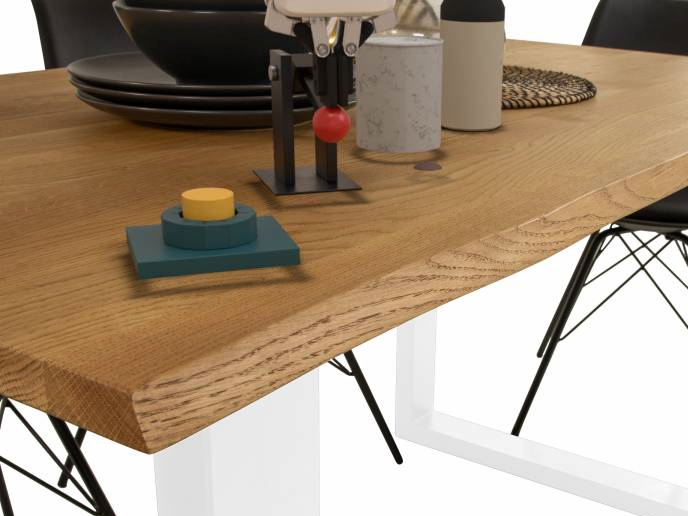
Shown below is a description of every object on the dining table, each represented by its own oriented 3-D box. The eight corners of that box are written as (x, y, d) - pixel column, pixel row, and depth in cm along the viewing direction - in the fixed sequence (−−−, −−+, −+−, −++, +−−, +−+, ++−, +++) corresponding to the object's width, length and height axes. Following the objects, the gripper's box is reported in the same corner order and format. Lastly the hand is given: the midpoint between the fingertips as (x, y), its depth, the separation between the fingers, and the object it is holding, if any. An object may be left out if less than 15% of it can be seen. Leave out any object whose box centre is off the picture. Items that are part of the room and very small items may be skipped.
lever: (353, 148, 84) (356, 114, 82) (316, 150, 83) (318, 115, 81) (315, 81, 94) (317, 48, 92) (281, 82, 93) (282, 49, 91)
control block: (139, 293, 67) (134, 236, 66) (127, 254, 75) (123, 203, 74) (300, 277, 71) (299, 222, 70) (273, 242, 79) (271, 192, 78)
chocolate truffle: (438, 173, 103) (438, 158, 103) (445, 180, 100) (446, 164, 100) (409, 174, 102) (409, 159, 102) (416, 181, 100) (417, 165, 99)
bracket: (362, 200, 92) (361, 57, 88) (275, 206, 89) (270, 59, 85) (333, 176, 101) (330, 45, 96) (253, 181, 98) (247, 46, 94)
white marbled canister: (449, 161, 109) (451, 44, 104) (361, 162, 107) (360, 44, 103) (432, 143, 117) (434, 35, 113) (350, 144, 116) (349, 34, 111)
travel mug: (464, 134, 123) (469, -20, 117) (425, 124, 129) (427, -23, 123) (513, 128, 128) (519, -21, 122) (473, 118, 134) (477, -24, 127)
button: (186, 226, 70) (185, 201, 69) (179, 212, 73) (178, 189, 72) (238, 221, 71) (237, 197, 71) (229, 209, 74) (228, 186, 74)
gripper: (404, -131, 83) (404, 93, 89) (221, -138, 78) (235, 101, 84) (436, -136, 76) (434, 107, 83) (239, -143, 71) (252, 116, 78)
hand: (333, 103), depth 83 cm, fingers closed
